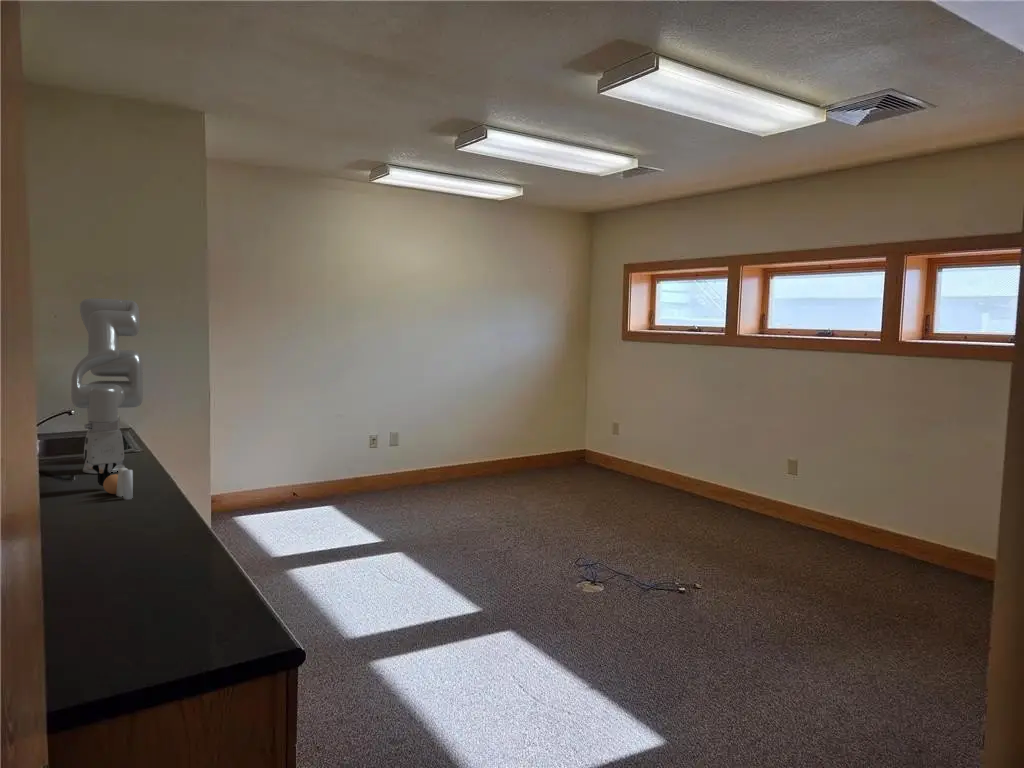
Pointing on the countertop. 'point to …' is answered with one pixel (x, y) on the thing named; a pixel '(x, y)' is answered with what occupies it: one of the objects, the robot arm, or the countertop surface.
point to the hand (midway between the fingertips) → (103, 484)
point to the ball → (111, 484)
